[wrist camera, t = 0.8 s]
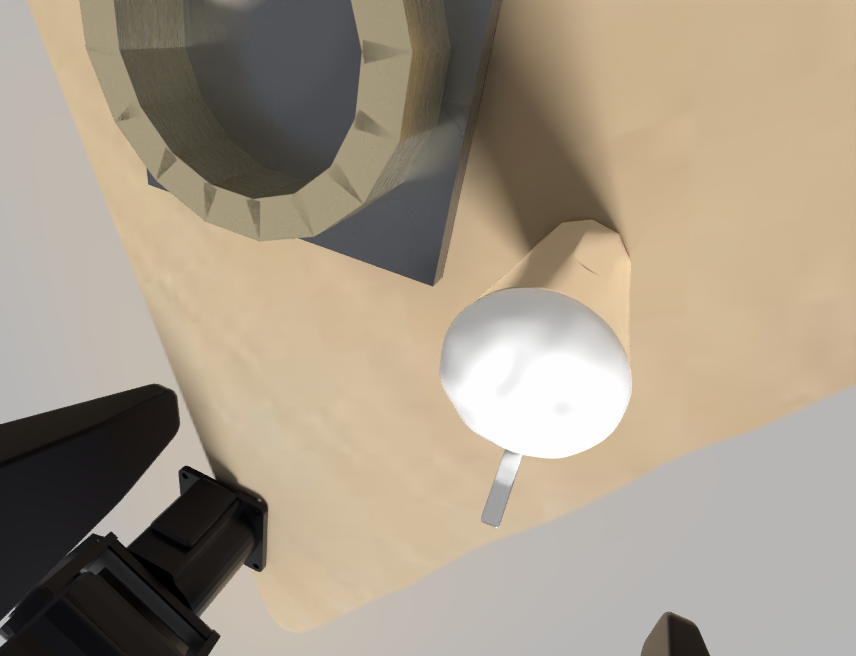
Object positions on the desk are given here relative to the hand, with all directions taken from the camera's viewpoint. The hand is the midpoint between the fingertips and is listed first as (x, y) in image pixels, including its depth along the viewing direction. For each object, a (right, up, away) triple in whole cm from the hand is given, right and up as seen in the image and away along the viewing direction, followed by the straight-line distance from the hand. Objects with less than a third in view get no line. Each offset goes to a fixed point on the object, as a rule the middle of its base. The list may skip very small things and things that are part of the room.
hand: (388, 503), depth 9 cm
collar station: (-4, +13, +11) cm, 18 cm away
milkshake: (+6, +5, +11) cm, 13 cm away
